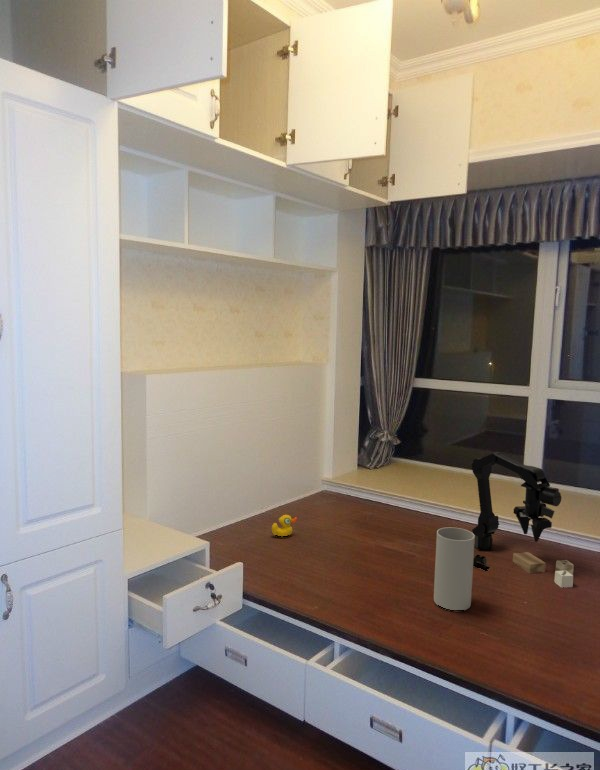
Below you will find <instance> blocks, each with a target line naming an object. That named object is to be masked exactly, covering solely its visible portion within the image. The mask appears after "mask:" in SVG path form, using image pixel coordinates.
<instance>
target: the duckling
mask: <svg viewBox="0 0 600 770" xmlns="http://www.w3.org/2000/svg"><path fill="white" fill-rule="evenodd" d="M297 518H298V517H296V516H295V517H294V518H292V517H291V515H289V514H284V515H282V516H280V517H279V518H278V522H279V523H280V525H281V527H279V526H278V523H277V522H273V524H272V525H271V532H272V534H273V536H275V535H278V536H287V535H289V536H291V534H292V533H293V527H292V526H291V524H295V523H296V522H297Z"/></svg>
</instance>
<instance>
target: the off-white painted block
mask: <svg viewBox="0 0 600 770" xmlns="http://www.w3.org/2000/svg"><path fill="white" fill-rule="evenodd" d="M554 583H555V584H556V585H558V586H559V587H560V588H563V587H564V588H573V586H574V585H573V583H574V574H573V575H572V574H570V573H569V572H568V571H556V570H555V571H554ZM564 588H563V589H564Z"/></svg>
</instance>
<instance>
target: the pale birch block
mask: <svg viewBox="0 0 600 770" xmlns="http://www.w3.org/2000/svg"><path fill="white" fill-rule="evenodd" d="M555 562H556V563H555V571H568V572H569V573H570V574H572V575H573V576H574V567H575V564H573V563H572V562H570V561H569V560H567V559H564V560H556V561H555Z"/></svg>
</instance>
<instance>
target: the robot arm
mask: <svg viewBox="0 0 600 770" xmlns="http://www.w3.org/2000/svg"><path fill="white" fill-rule="evenodd" d="M494 465H499V467H503V468H505V469H507V470H508V471H510V472H513V473H514V474H516V475H518V476H519V478H520V479H521V480H522V481H524V482H523V483H521V484H520V487H523V488H525V497H524V500H522V504H524V506H523V505H521V506H517V505H516V506H515V507H514V508H513V514H514V515H515V517H516V518H517V520H518V521H517V522H518V523H519V525H520V528H521V529H522V531H523V535H527V534H528V532H529V526H530V527H531V531H532V536H533V540H534V542H535V543H536V542H539V540H540V538H541V536H542V533H543V531H544V530H545V529H551V528H552V526H553V524H552V523H553V521H551V520H550V519H553V516H554V515H555V512H556V511H555V510H553V509H552V508H550V507H548V506H547V505H550V506H553V507H558V506H560V504H561V502H562V494H561V492H560V490H559V488H557V487H551V483H549V481H548V479H547V477H546V475H545V472H544V470H543V469H542V468H540V467H537V466H533V465H526V464H523V463H522V462H519V461H517V460H516V459H513V458H511V457H509V456H507V455H505V454H502V452H500V451H499V452H498V451H496V452H492V453H490V454H488V455H486V456H483V457H479V458H475V459H473V460H472V461H471V470H472V474H473V475H474V477H475V478H476V480H477V481H476V482H477V491H478V500H479V509H480V513H479V515H478V518H477V525H476V526H475V527H474V528H473V529H472V530H471V532H472V533H473V534H474V535H475V539H474V549H477V550H478V551H479V552H480V551H481V552H483V551H485V552H488V551H494V549H493V543H494V541H493V540H494V539H493V535H494V534H495V533H496V532H497V530H498V529H499V526H500V522H499V516H498V515H496V514H495V513H494V512H493V505H492V503H493V502H492V496H491V494H492V492H491V487H490V486H491V485H490V477H491V474H492V468H493V466H494ZM546 517H547V518H546ZM548 518H550V519H548ZM530 521H531V525H530Z"/></svg>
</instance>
